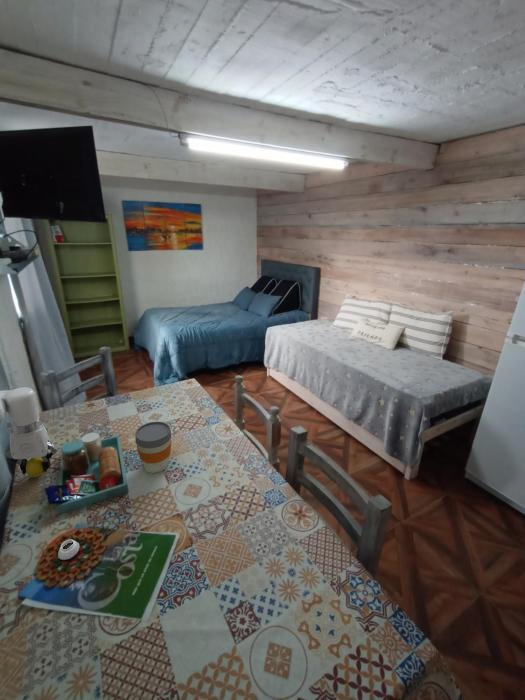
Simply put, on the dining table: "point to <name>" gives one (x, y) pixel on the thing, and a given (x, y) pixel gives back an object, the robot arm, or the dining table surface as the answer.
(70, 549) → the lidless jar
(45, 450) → the robot arm
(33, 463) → the lemon
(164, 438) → the reusable coffee cup
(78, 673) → the dining table surface
